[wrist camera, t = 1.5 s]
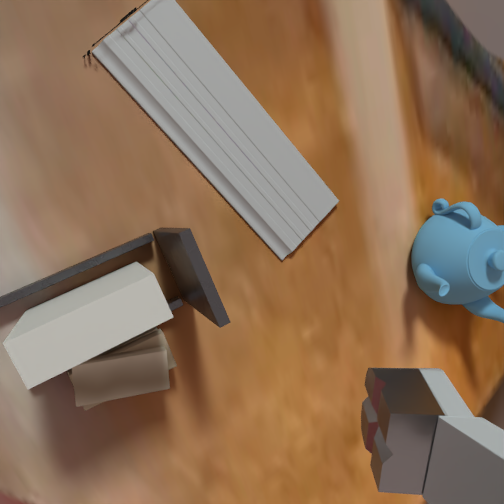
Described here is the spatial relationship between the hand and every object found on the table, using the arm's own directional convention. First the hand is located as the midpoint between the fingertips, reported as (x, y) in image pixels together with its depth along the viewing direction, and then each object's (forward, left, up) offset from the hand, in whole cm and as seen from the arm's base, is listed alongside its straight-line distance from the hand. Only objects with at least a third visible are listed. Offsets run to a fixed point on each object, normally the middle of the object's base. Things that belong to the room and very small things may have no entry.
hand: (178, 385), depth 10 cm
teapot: (+20, +41, -42) cm, 62 cm away
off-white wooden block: (+4, -3, -42) cm, 42 cm away
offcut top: (+11, -3, -38) cm, 40 cm away
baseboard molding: (-7, +17, -42) cm, 46 cm away
